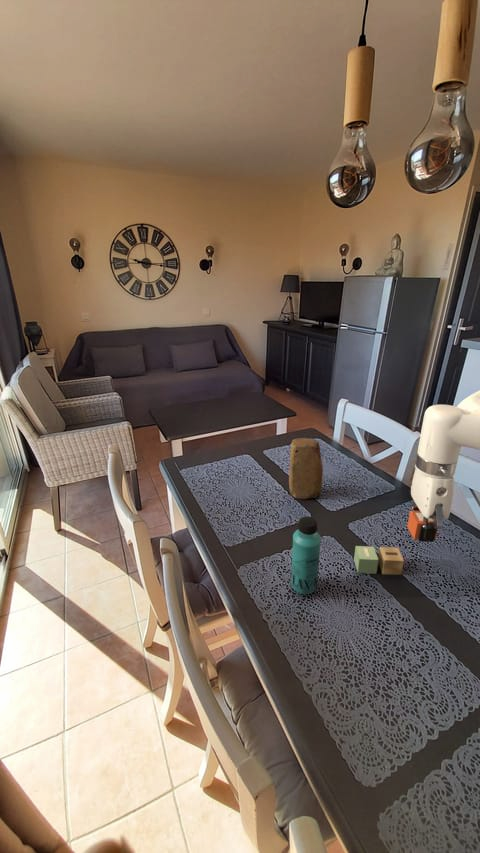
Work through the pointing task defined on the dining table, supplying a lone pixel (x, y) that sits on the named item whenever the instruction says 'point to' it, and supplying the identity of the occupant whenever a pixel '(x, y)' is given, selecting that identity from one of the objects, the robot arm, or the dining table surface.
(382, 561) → the tan wooden toy cube
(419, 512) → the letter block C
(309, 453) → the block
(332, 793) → the dining table surface
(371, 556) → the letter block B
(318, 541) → the beverage bottle
